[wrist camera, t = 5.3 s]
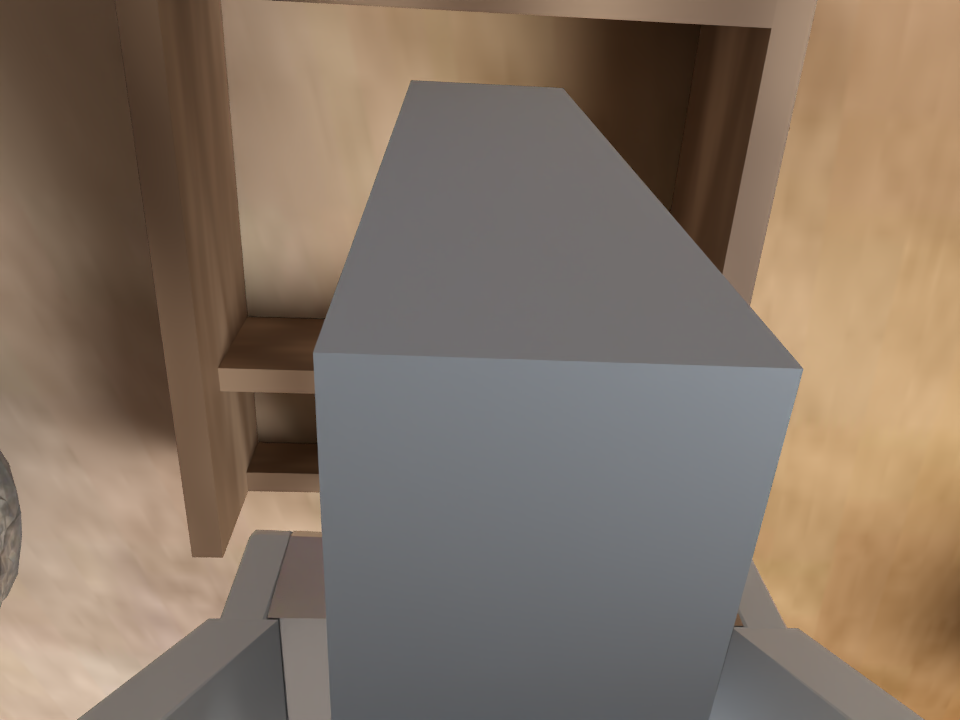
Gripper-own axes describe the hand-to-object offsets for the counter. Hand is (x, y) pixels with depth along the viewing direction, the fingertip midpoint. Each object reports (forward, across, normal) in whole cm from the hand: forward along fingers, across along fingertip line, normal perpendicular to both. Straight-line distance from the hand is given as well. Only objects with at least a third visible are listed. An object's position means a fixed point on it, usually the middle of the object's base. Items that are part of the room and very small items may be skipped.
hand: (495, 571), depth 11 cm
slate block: (+11, 0, 0) cm, 11 cm away
